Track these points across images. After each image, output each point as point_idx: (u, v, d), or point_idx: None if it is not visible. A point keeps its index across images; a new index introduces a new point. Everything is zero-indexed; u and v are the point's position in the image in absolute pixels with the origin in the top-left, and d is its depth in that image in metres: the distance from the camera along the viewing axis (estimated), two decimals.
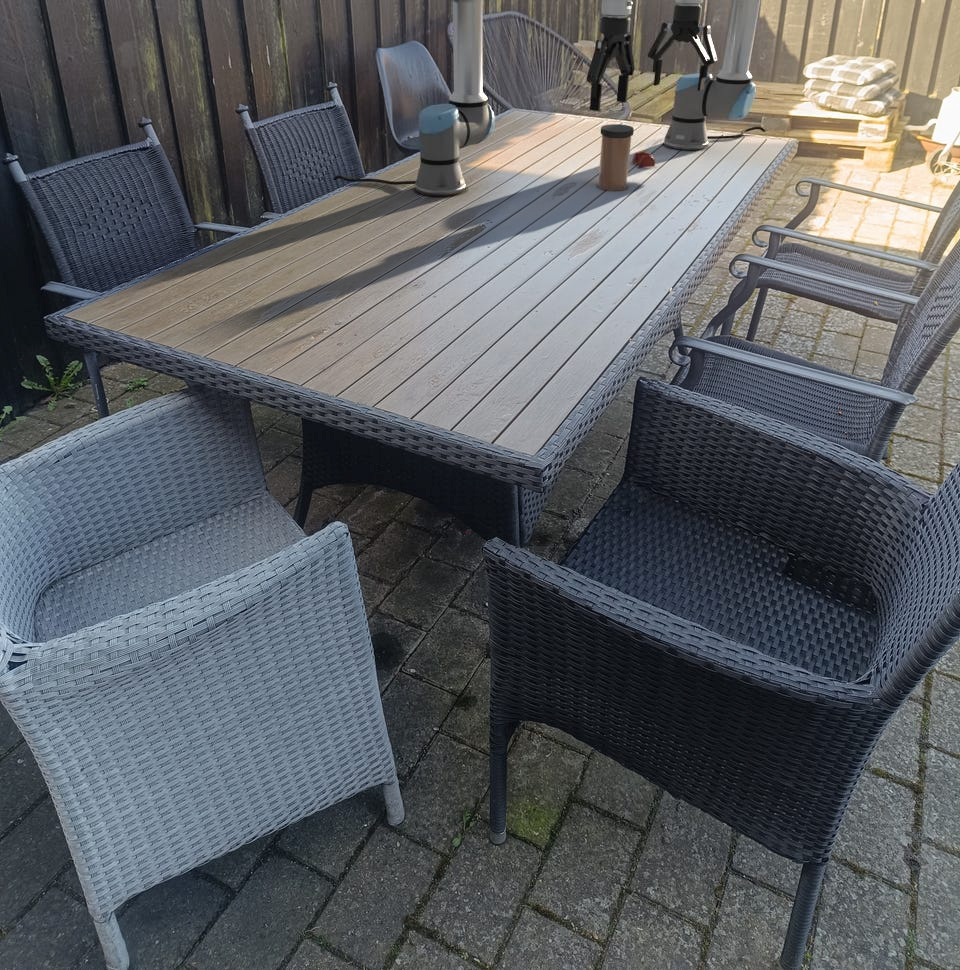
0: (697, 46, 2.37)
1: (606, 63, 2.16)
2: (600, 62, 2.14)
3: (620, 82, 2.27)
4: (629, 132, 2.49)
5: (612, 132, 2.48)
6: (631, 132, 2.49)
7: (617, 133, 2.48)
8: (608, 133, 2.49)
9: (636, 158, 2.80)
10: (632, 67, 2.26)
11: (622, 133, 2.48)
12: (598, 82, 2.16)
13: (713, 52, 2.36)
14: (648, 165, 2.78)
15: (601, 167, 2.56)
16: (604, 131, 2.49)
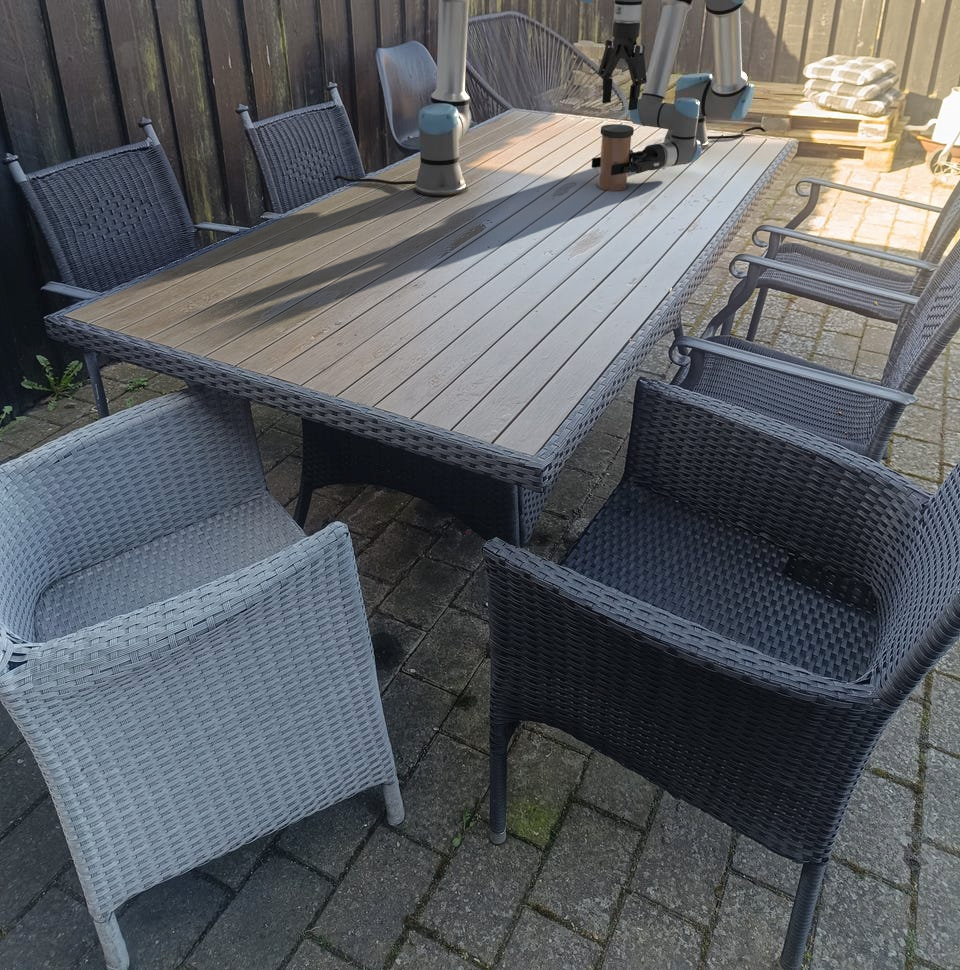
0: None
1: (610, 61, 2.43)
2: (603, 58, 2.45)
3: None
4: (629, 132, 2.49)
5: (612, 132, 2.48)
6: (631, 132, 2.49)
7: (617, 133, 2.48)
8: (608, 133, 2.49)
9: None
10: (638, 79, 2.37)
11: (622, 133, 2.48)
12: (602, 76, 2.48)
13: None
14: None
15: (601, 167, 2.56)
16: (604, 131, 2.49)
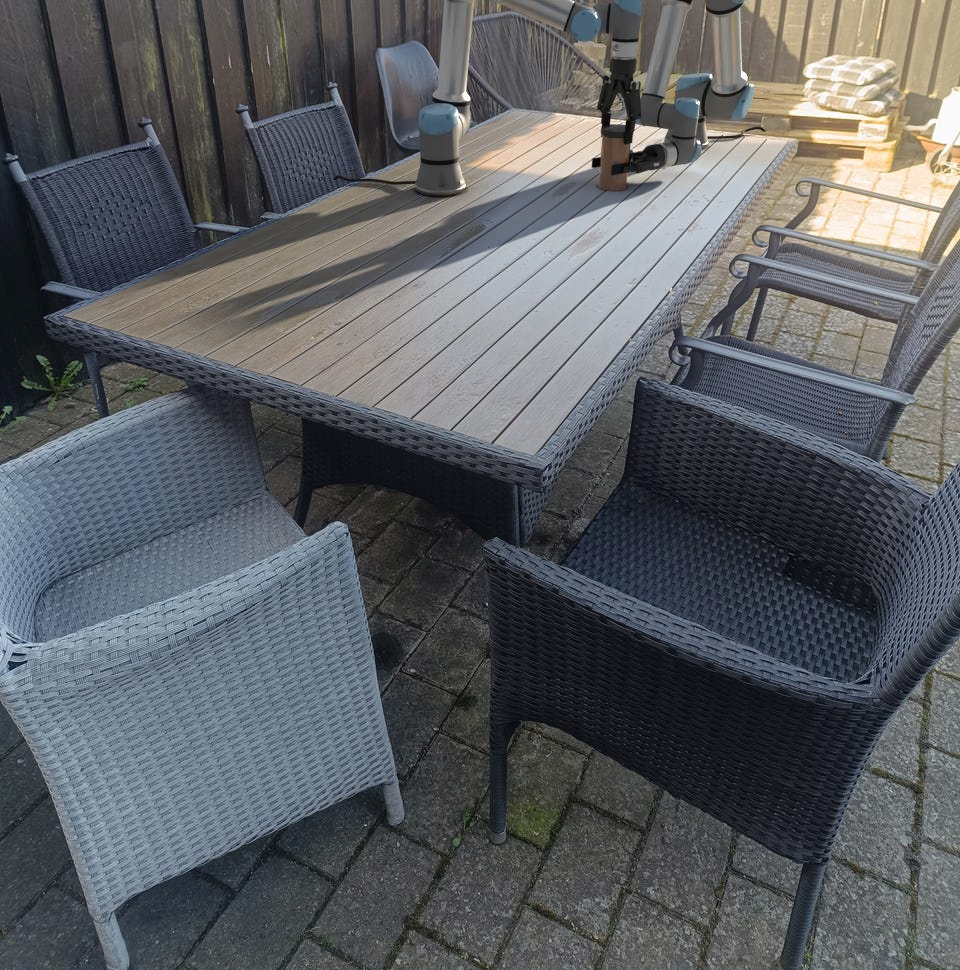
0: None
1: (608, 96, 2.49)
2: (601, 93, 2.50)
3: None
4: None
5: (612, 132, 2.48)
6: None
7: (617, 133, 2.48)
8: (608, 133, 2.49)
9: None
10: (633, 114, 2.43)
11: (622, 133, 2.48)
12: (601, 111, 2.53)
13: None
14: None
15: (601, 167, 2.56)
16: (604, 131, 2.49)
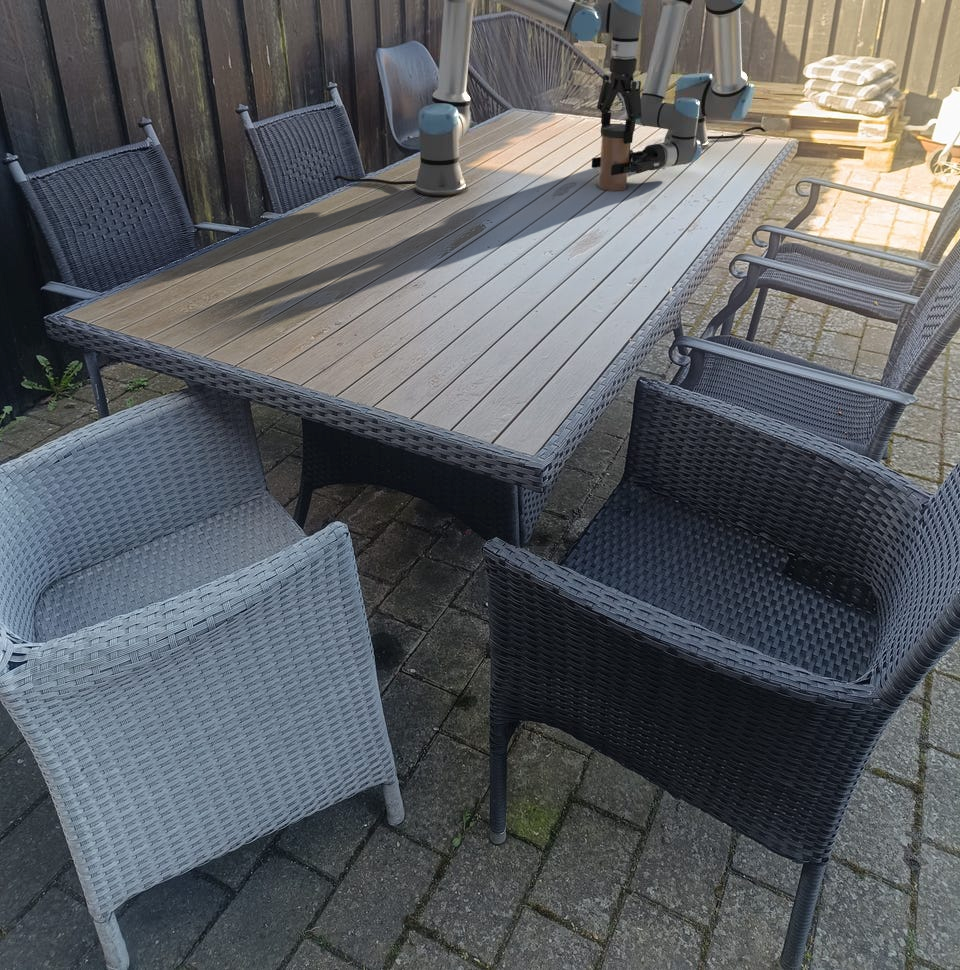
0: None
1: (608, 96, 2.48)
2: (601, 93, 2.50)
3: None
4: None
5: None
6: None
7: None
8: None
9: None
10: (633, 114, 2.43)
11: None
12: (601, 111, 2.53)
13: None
14: None
15: (601, 167, 2.56)
16: (623, 132, 2.48)
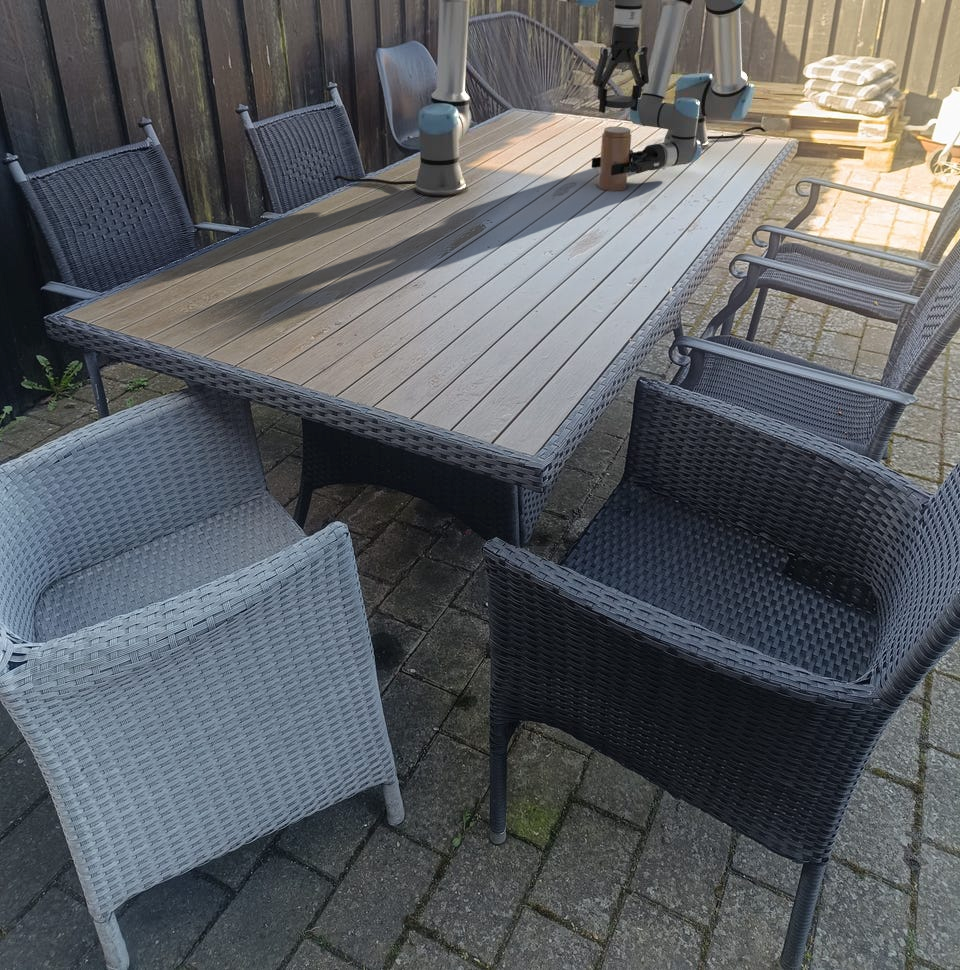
0: None
1: (611, 69, 2.40)
2: (602, 68, 2.39)
3: (633, 92, 2.47)
4: None
5: None
6: None
7: None
8: None
9: None
10: (645, 79, 2.45)
11: None
12: (602, 87, 2.42)
13: None
14: None
15: (601, 167, 2.56)
16: None
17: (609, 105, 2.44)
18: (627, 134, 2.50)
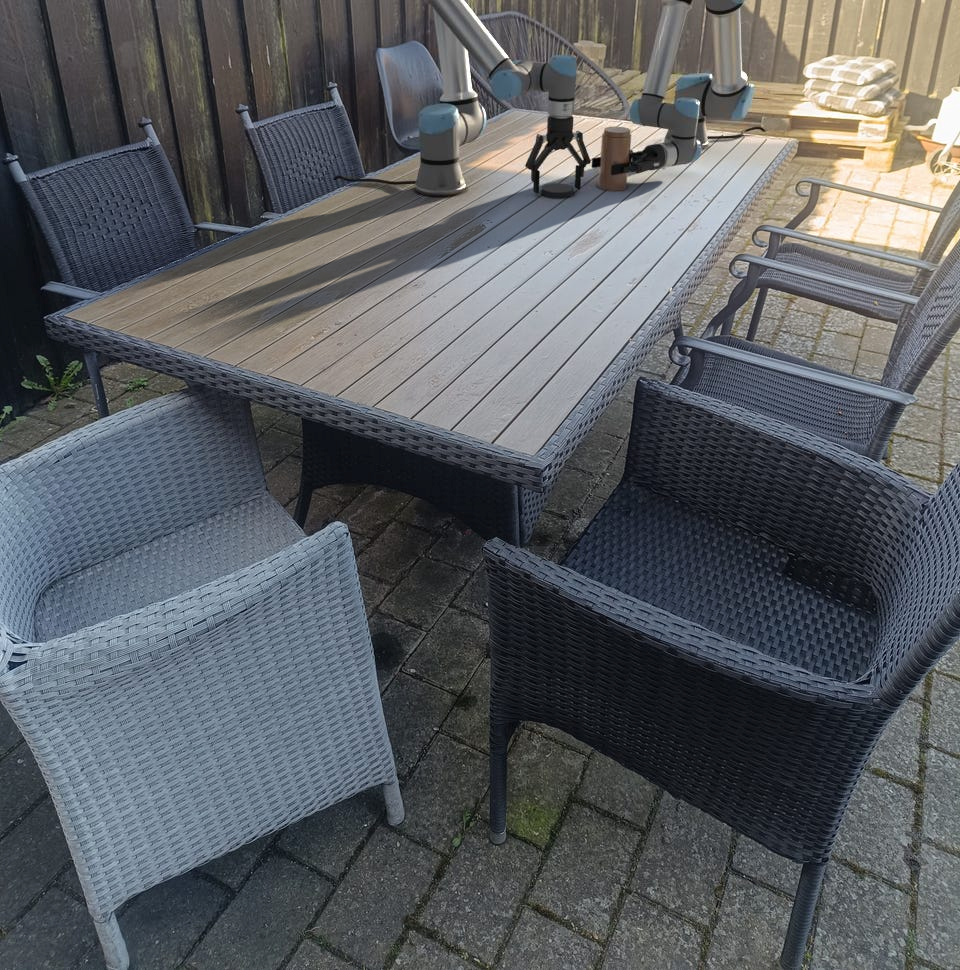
0: None
1: (545, 154, 2.47)
2: (536, 153, 2.46)
3: (576, 172, 2.54)
4: None
5: None
6: None
7: None
8: None
9: None
10: (587, 160, 2.52)
11: None
12: (534, 169, 2.48)
13: None
14: None
15: (601, 167, 2.56)
16: None
17: (547, 195, 2.52)
18: (627, 134, 2.50)
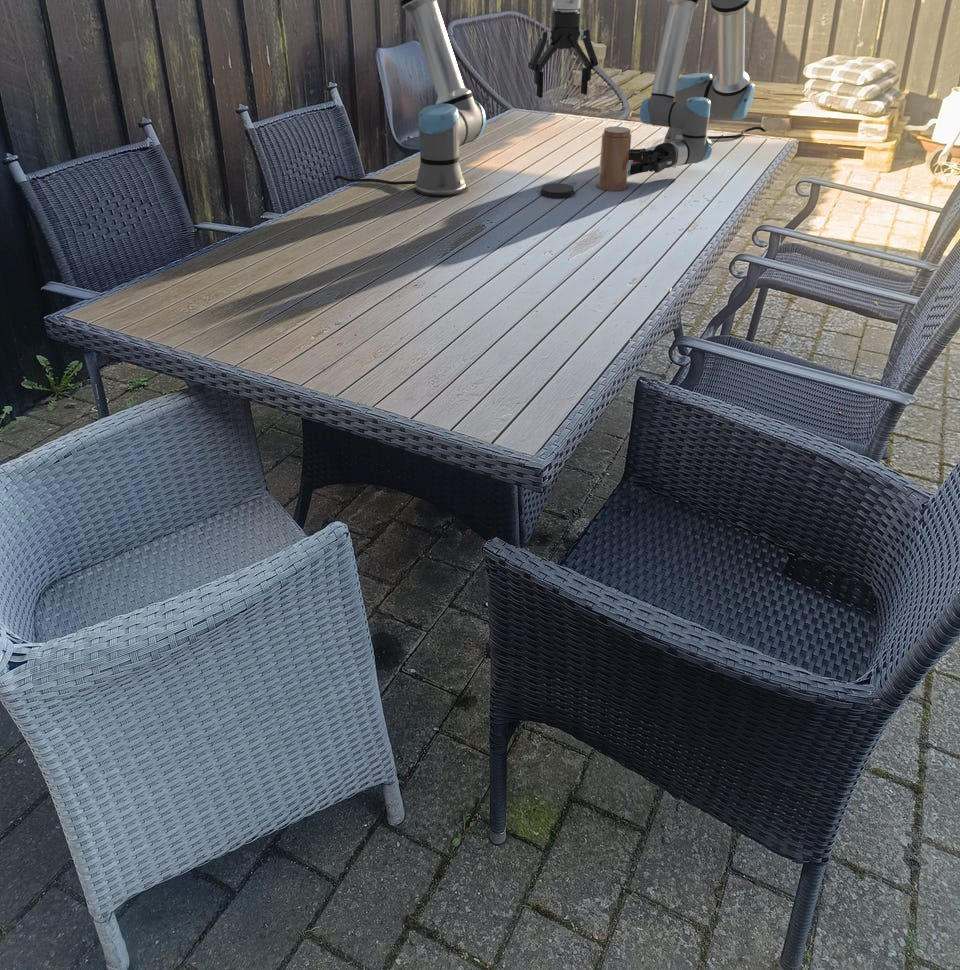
0: None
1: (549, 53, 2.31)
2: (539, 51, 2.30)
3: (582, 75, 2.39)
4: None
5: None
6: None
7: None
8: None
9: None
10: (594, 61, 2.36)
11: None
12: (538, 70, 2.33)
13: None
14: None
15: (601, 167, 2.56)
16: None
17: (547, 195, 2.52)
18: (627, 134, 2.50)
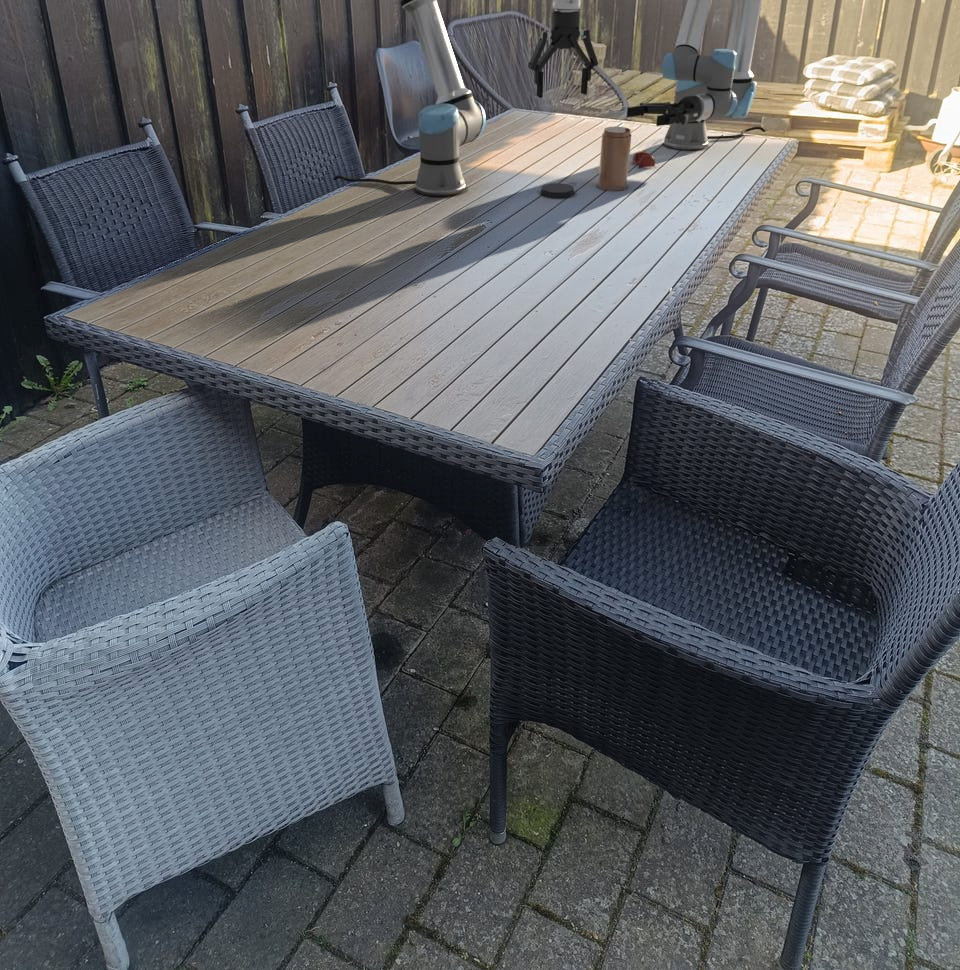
0: None
1: (549, 53, 2.31)
2: (539, 51, 2.30)
3: (582, 75, 2.39)
4: None
5: None
6: None
7: None
8: None
9: (636, 158, 2.80)
10: (594, 61, 2.36)
11: None
12: (538, 70, 2.33)
13: None
14: (648, 165, 2.78)
15: (601, 167, 2.56)
16: None
17: (547, 195, 2.52)
18: (627, 134, 2.50)
